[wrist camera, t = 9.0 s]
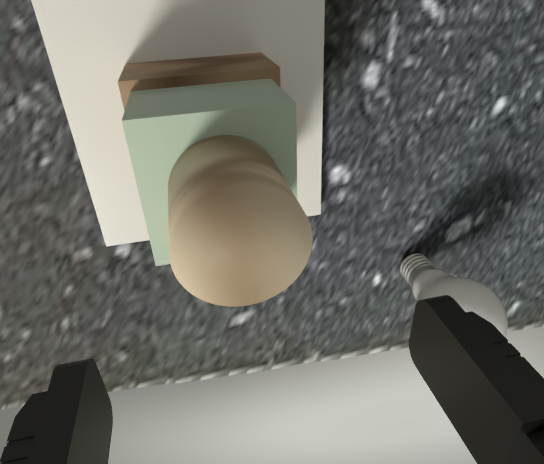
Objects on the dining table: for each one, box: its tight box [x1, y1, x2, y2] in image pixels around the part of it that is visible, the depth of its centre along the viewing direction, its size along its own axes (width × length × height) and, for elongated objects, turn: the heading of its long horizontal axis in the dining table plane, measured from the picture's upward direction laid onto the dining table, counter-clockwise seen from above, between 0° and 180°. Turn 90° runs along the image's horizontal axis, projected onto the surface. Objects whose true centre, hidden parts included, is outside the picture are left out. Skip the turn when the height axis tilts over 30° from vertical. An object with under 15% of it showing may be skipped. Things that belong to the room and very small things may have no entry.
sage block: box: [122, 78, 297, 266], centre depth 21 cm, size 7×7×5 cm
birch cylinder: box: [168, 135, 312, 306], centre depth 17 cm, size 5×5×5 cm
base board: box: [31, 0, 325, 246], centre depth 27 cm, size 16×16×1 cm
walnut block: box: [118, 52, 281, 111], centre depth 25 cm, size 8×8×5 cm
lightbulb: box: [399, 253, 508, 337], centre depth 34 cm, size 6×6×11 cm
